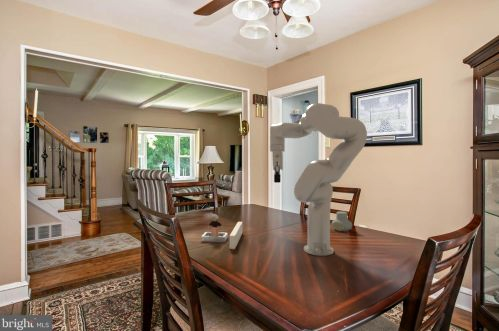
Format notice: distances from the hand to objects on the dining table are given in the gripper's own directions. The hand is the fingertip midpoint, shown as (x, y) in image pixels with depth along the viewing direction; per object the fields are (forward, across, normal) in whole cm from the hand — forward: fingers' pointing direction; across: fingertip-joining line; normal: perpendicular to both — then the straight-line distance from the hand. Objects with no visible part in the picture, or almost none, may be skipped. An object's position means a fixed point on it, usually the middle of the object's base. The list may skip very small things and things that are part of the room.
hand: (277, 181), depth 142 cm
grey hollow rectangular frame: (+28, -10, +31) cm, 43 cm away
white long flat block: (+28, -10, +20) cm, 36 cm away
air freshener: (+29, +14, -36) cm, 48 cm away
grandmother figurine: (+28, -10, +31) cm, 43 cm away
